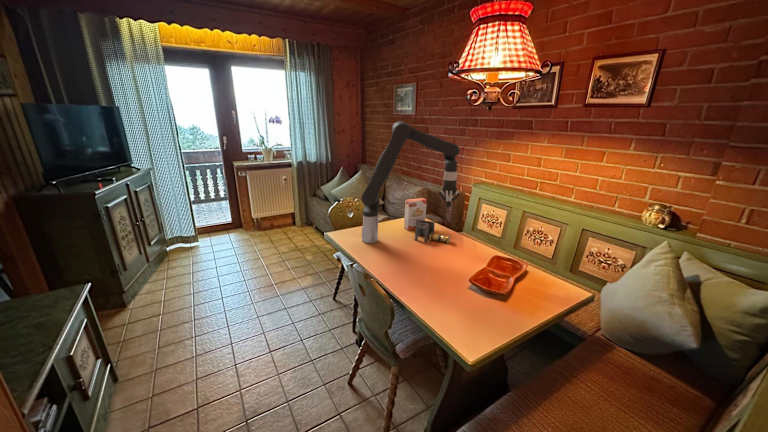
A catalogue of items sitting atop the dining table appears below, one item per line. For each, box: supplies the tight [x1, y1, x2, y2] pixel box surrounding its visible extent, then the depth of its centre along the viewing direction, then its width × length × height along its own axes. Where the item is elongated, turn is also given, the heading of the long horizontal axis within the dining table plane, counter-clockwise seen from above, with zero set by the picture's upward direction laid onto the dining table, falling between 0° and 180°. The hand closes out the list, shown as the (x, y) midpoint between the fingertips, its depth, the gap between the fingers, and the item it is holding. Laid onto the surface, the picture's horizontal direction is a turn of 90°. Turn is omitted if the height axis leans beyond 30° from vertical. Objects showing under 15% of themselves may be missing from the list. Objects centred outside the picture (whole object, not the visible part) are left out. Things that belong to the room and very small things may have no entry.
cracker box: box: [403, 197, 428, 231], centre depth 205 cm, size 14×6×21 cm, turn 115°
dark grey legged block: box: [414, 220, 436, 243], centre depth 190 cm, size 12×12×10 cm
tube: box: [428, 232, 451, 245], centre depth 187 cm, size 12×5×5 cm, turn 70°
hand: (448, 207), depth 179 cm, fingers closed
